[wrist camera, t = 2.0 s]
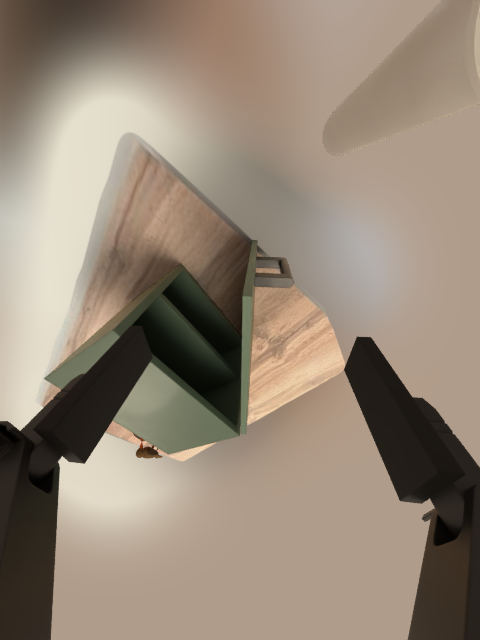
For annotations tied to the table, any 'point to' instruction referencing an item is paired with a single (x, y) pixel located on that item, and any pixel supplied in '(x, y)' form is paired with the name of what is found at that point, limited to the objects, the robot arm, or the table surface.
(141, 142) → the table surface
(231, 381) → the cupboard
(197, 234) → the table surface
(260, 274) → the door
